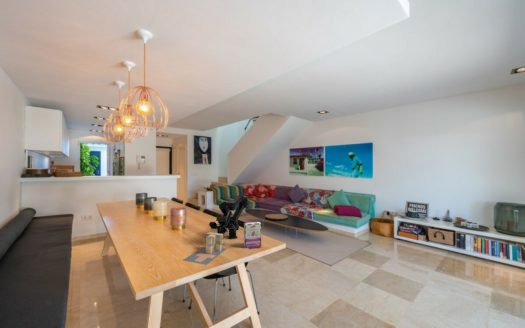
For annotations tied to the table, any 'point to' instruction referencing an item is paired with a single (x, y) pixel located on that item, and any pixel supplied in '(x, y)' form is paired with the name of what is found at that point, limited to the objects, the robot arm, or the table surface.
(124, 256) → the table surface
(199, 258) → the slate board
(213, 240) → the maple T block
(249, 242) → the candy bar box
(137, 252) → the table surface
